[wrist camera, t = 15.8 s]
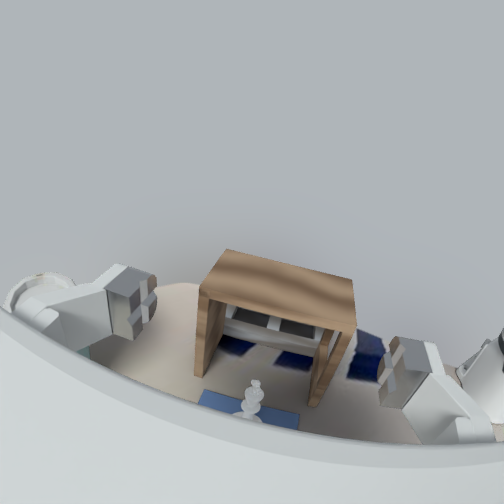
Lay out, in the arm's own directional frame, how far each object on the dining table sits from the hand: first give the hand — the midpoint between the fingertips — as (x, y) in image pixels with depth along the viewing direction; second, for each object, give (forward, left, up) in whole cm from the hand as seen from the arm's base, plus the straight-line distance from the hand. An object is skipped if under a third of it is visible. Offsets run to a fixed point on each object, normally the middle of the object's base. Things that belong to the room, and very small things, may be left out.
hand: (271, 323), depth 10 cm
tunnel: (-21, -19, -28) cm, 40 cm away
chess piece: (-9, -8, -28) cm, 30 cm away
